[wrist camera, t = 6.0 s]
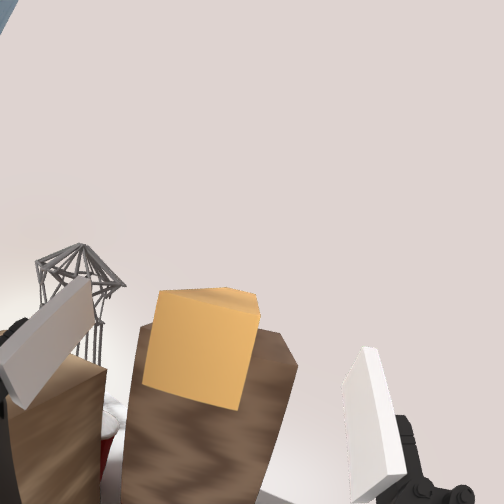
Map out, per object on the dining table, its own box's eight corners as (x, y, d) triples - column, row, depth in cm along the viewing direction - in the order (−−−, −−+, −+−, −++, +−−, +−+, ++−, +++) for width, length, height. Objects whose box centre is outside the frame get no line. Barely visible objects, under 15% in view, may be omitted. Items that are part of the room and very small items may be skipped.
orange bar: (237, 410, 11) (260, 315, 11) (141, 384, 11) (159, 290, 12) (248, 322, 41) (255, 294, 41) (219, 315, 41) (226, 287, 41)
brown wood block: (120, 553, 18) (140, 326, 22) (154, 489, 34) (185, 310, 37) (222, 580, 18) (298, 365, 21) (230, 508, 34) (280, 333, 37)
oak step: (-37, 531, 7) (-94, 341, 9) (27, 482, 23) (19, 328, 25) (50, 596, 7) (-10, 428, 9) (101, 523, 22) (107, 368, 25)
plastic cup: (101, 455, 38) (104, 399, 39) (128, 496, 31) (133, 436, 32) (42, 455, 31) (39, 394, 32) (59, 501, 23) (53, 437, 24)
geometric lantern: (38, 435, 35) (53, 234, 39) (23, 394, 46) (39, 232, 49) (113, 432, 47) (136, 256, 51) (85, 397, 57) (105, 250, 61)
